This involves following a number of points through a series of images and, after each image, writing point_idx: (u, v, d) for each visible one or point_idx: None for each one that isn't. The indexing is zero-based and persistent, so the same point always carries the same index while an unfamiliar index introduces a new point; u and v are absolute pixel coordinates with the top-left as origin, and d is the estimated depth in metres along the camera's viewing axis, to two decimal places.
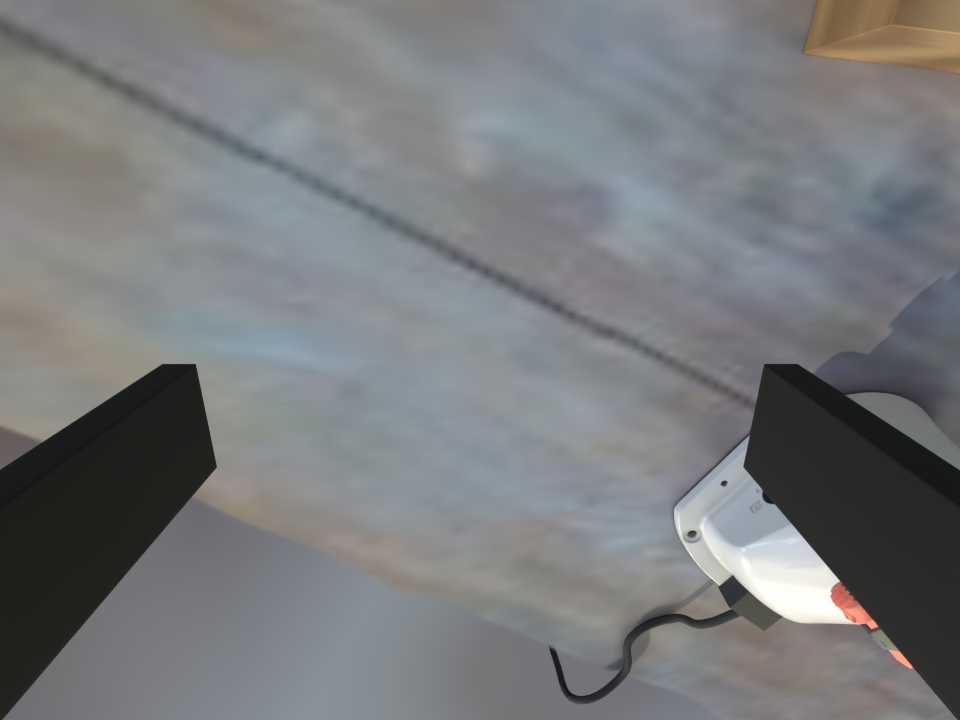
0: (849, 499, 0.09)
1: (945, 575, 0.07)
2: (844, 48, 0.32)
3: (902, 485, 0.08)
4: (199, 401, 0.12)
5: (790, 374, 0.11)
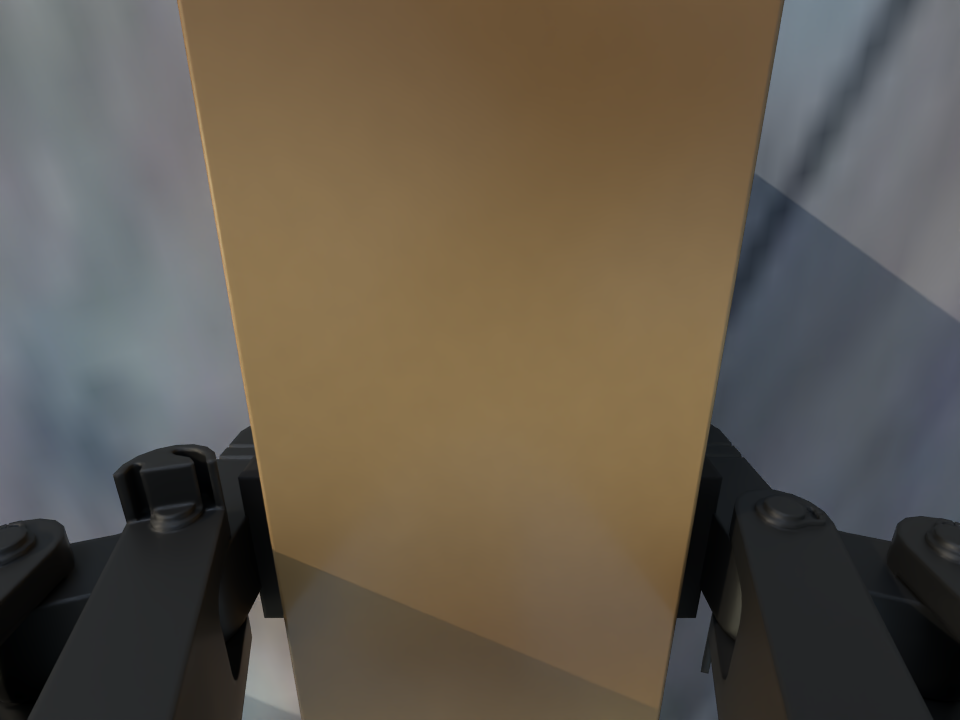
0: None
1: None
2: None
3: None
4: None
5: None
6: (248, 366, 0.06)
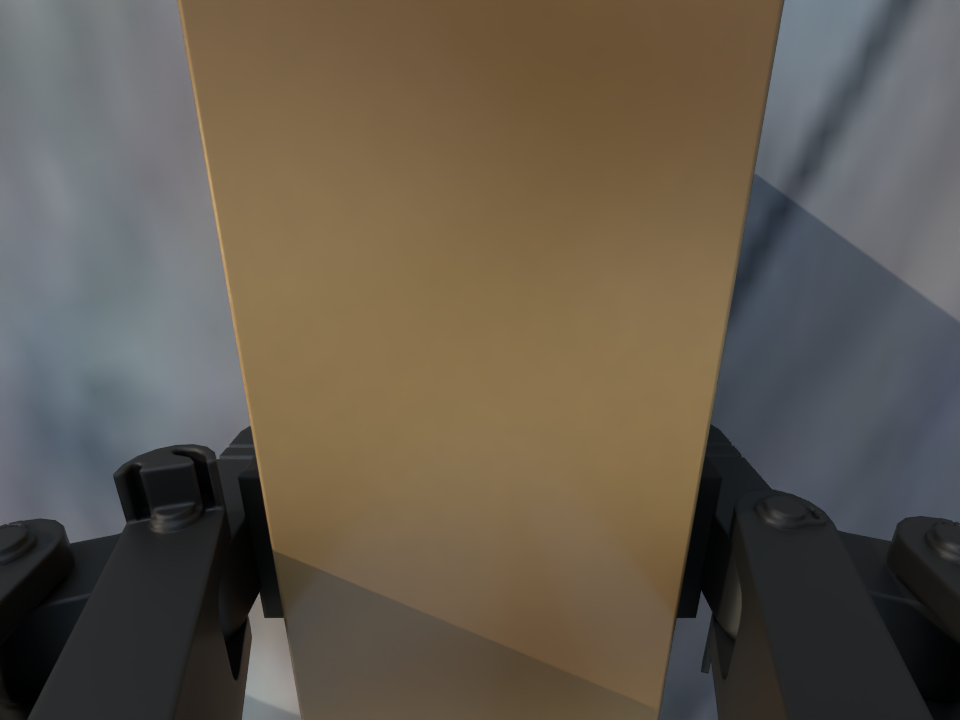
0: None
1: None
2: None
3: None
4: None
5: None
6: (249, 366, 0.06)
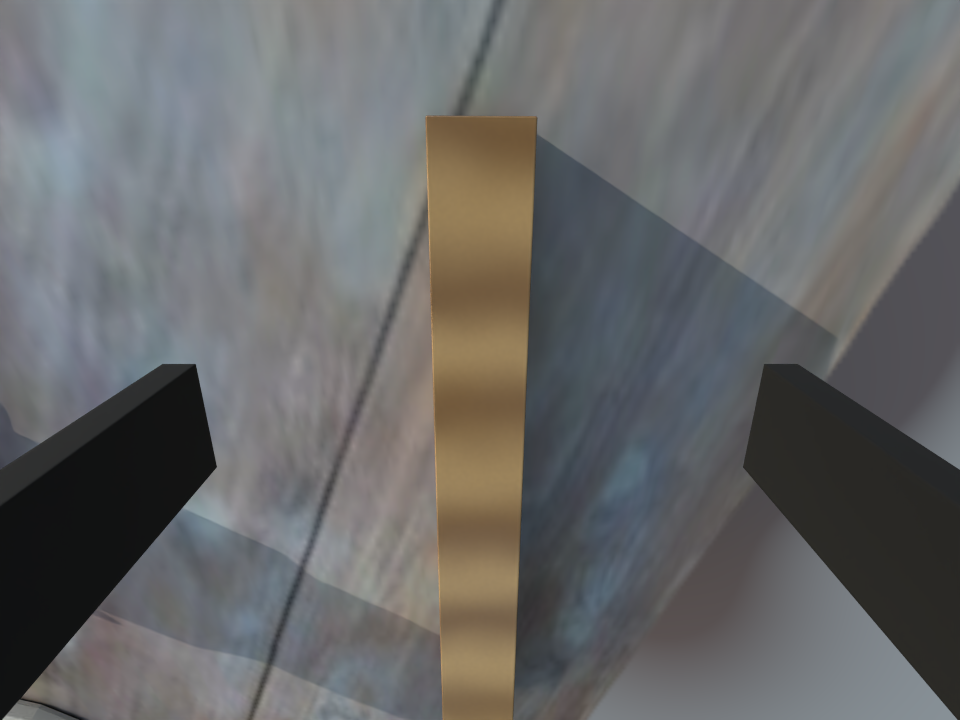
0: (849, 499, 0.09)
1: (945, 575, 0.07)
2: None
3: (902, 485, 0.08)
4: (199, 401, 0.12)
5: (790, 374, 0.11)
6: (430, 204, 0.28)
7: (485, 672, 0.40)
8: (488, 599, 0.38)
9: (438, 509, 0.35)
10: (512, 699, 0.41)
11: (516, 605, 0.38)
